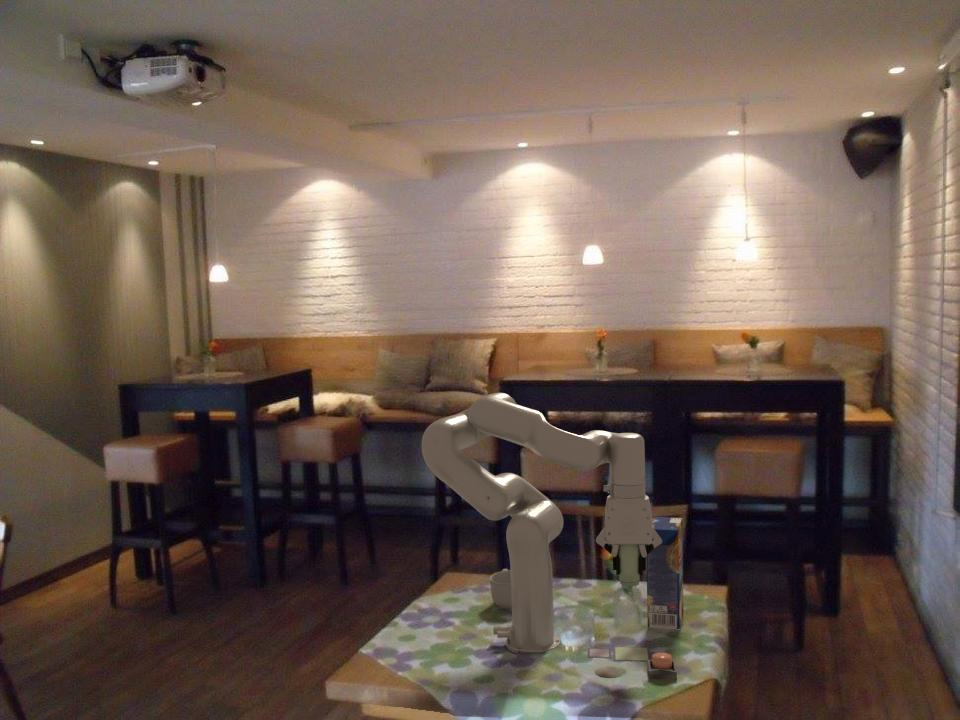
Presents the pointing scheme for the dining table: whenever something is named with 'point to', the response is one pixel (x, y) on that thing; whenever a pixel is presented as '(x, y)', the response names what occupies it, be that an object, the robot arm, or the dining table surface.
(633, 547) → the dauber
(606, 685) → the dining table surface
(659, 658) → the button
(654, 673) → the colouring board
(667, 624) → the juice carton
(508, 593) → the teacup
